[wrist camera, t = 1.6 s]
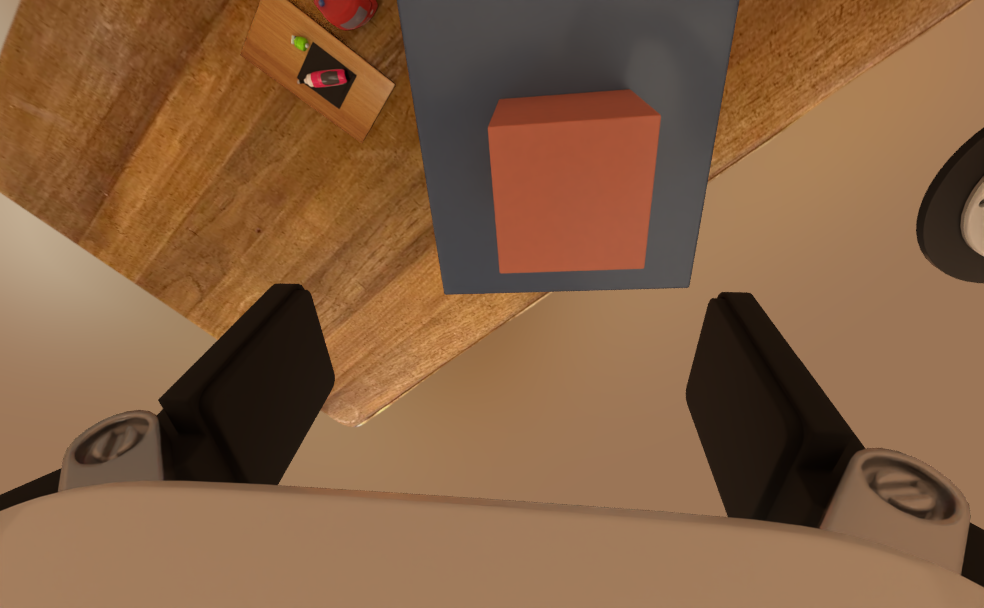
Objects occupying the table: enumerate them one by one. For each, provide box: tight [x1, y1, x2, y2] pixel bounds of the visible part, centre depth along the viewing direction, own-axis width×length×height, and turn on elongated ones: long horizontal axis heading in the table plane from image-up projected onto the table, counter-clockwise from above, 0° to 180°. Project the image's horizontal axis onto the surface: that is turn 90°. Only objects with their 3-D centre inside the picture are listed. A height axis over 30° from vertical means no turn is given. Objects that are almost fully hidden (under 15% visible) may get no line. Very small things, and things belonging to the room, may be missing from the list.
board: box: [240, 0, 396, 143], centre depth 39 cm, size 6×12×2 cm, turn 53°
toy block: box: [488, 89, 661, 273], centre depth 18 cm, size 6×6×6 cm
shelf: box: [397, 0, 739, 295], centre depth 30 cm, size 13×14×22 cm
